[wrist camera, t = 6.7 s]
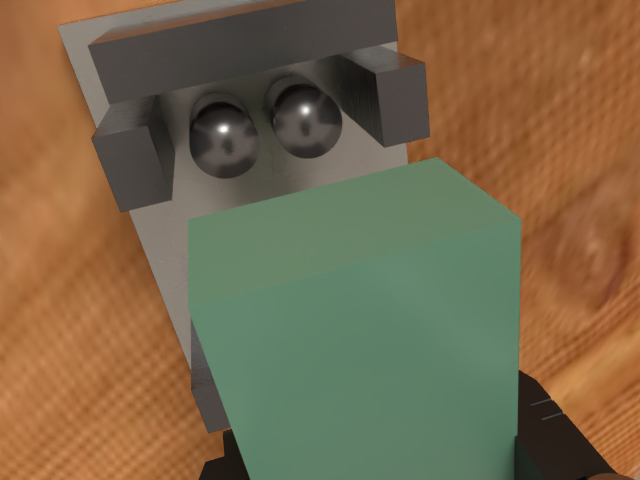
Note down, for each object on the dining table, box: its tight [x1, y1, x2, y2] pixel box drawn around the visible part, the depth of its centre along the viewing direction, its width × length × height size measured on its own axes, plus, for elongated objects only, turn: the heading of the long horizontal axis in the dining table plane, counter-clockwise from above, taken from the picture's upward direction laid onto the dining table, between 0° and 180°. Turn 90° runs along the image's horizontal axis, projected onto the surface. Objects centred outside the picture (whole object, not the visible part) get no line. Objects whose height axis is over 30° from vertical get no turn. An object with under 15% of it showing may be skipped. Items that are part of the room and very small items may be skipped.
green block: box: [188, 157, 521, 480], centre depth 12 cm, size 12×5×3 cm, turn 10°
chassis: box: [57, 0, 430, 433], centre depth 21 cm, size 18×12×6 cm, turn 10°
